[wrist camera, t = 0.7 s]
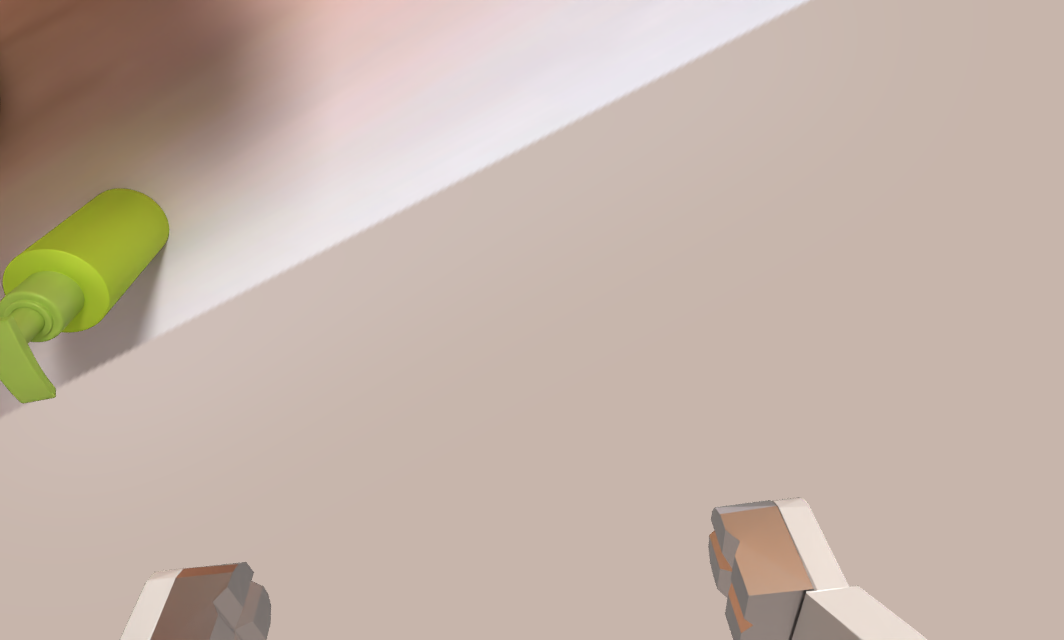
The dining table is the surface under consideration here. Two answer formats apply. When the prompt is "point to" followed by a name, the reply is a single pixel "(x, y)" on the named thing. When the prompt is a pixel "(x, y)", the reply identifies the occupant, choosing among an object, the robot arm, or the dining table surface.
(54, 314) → the soap dispenser
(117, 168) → the dining table surface
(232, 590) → the robot arm
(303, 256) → the dining table surface
